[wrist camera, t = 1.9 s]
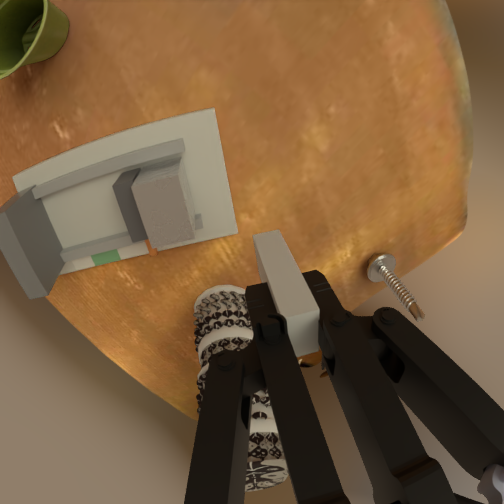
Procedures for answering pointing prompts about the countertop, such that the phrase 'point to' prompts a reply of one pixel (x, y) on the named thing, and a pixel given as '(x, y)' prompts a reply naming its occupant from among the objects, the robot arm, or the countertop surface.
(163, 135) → the base
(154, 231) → the plunger
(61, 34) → the plant pot
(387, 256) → the screw
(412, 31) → the countertop surface
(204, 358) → the decorative candle
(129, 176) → the dark grey upright block
